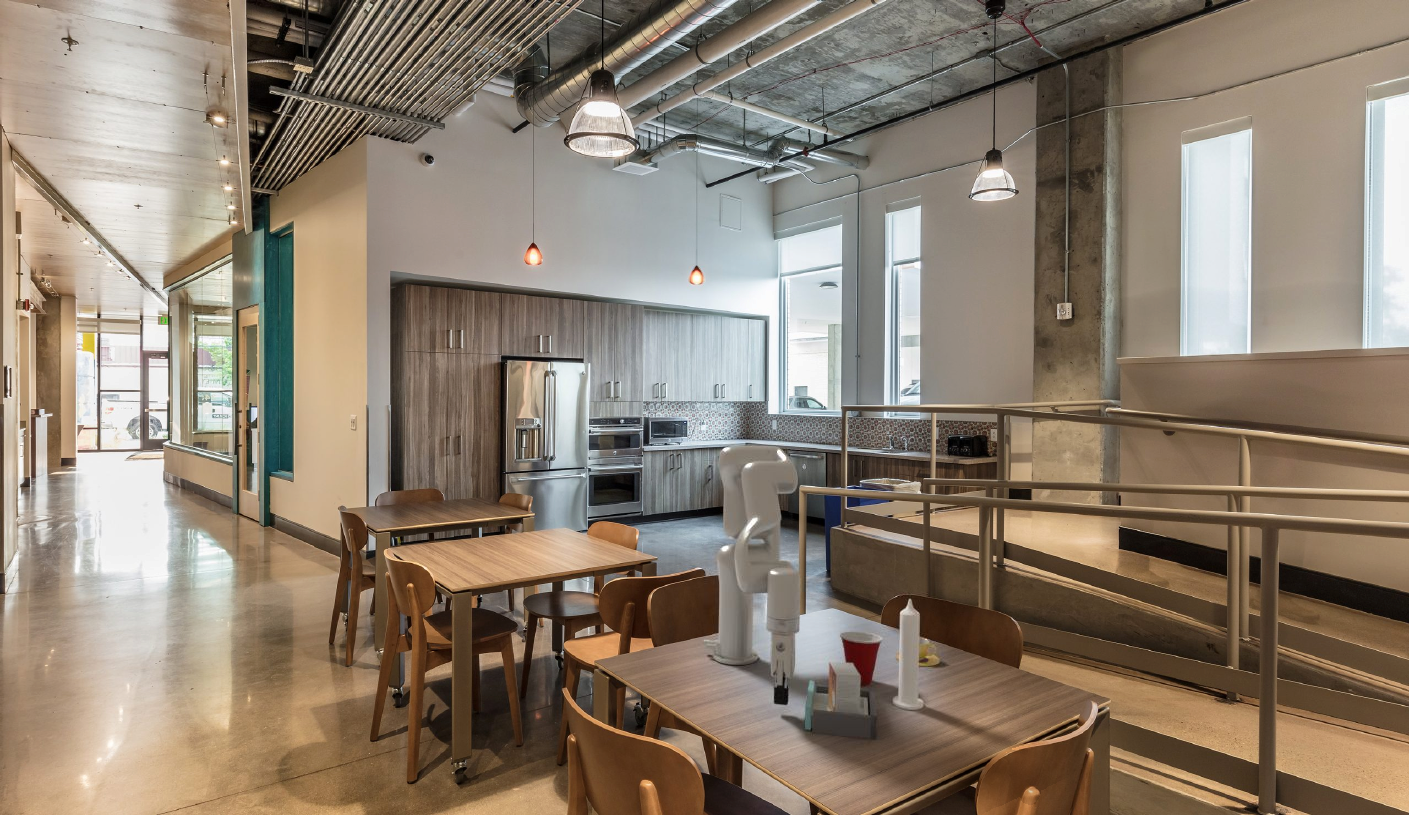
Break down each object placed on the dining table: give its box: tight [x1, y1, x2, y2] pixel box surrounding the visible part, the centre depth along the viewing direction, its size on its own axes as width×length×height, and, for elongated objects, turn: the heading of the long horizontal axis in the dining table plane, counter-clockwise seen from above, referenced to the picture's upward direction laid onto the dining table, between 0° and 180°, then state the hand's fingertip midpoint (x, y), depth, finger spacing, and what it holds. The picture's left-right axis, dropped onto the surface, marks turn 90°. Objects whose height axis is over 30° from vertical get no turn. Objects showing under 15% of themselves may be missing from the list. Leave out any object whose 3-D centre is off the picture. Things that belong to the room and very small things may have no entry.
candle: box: [892, 598, 925, 711], centre depth 172 cm, size 7×7×25 cm
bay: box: [811, 684, 878, 740], centre depth 163 cm, size 13×16×4 cm
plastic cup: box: [839, 630, 884, 687], centre depth 186 cm, size 11×11×12 cm
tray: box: [804, 680, 869, 731], centre depth 163 cm, size 13×15×5 cm
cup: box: [895, 637, 941, 667], centre depth 204 cm, size 12×12×5 cm
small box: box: [828, 661, 861, 714], centre depth 163 cm, size 8×6×10 cm
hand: (780, 702), depth 166 cm, fingers closed
